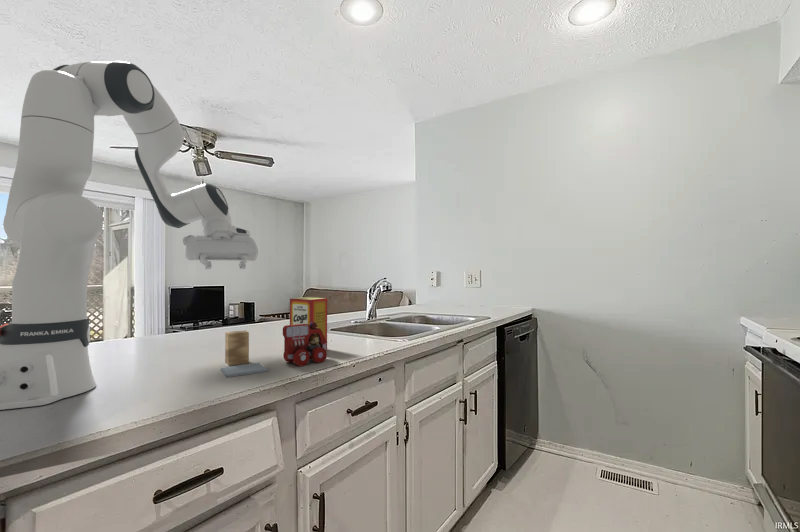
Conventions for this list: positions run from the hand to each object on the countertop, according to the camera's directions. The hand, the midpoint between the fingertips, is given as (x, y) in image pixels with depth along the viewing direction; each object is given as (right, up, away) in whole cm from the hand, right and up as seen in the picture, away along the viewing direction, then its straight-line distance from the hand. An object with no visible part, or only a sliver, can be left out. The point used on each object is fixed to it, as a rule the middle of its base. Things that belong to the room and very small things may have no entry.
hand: (226, 267), depth 115 cm
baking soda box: (+23, -25, +5) cm, 35 cm away
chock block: (+9, -25, -13) cm, 29 cm away
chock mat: (+14, -25, -21) cm, 36 cm away
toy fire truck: (+27, -25, -12) cm, 39 cm away
